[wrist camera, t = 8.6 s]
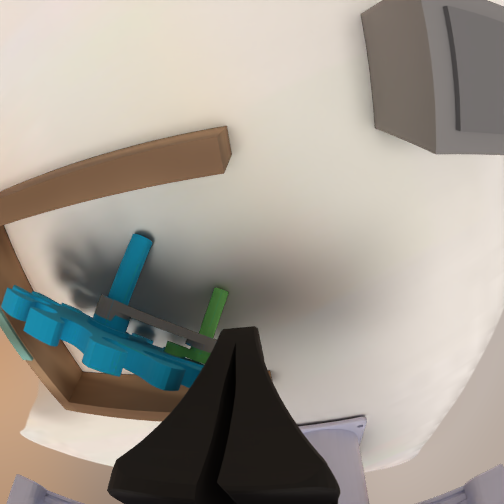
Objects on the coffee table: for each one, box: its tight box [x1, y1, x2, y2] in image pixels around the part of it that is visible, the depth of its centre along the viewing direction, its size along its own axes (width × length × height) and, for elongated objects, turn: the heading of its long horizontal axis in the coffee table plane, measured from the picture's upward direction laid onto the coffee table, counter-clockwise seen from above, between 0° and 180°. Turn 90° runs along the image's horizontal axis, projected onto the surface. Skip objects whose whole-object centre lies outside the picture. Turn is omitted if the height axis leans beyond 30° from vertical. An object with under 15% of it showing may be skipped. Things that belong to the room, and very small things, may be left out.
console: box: [361, 0, 504, 155], centre depth 8 cm, size 5×7×5 cm
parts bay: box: [0, 126, 272, 421], centre depth 15 cm, size 15×15×3 cm
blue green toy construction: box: [1, 234, 229, 391], centre depth 13 cm, size 11×6×10 cm
